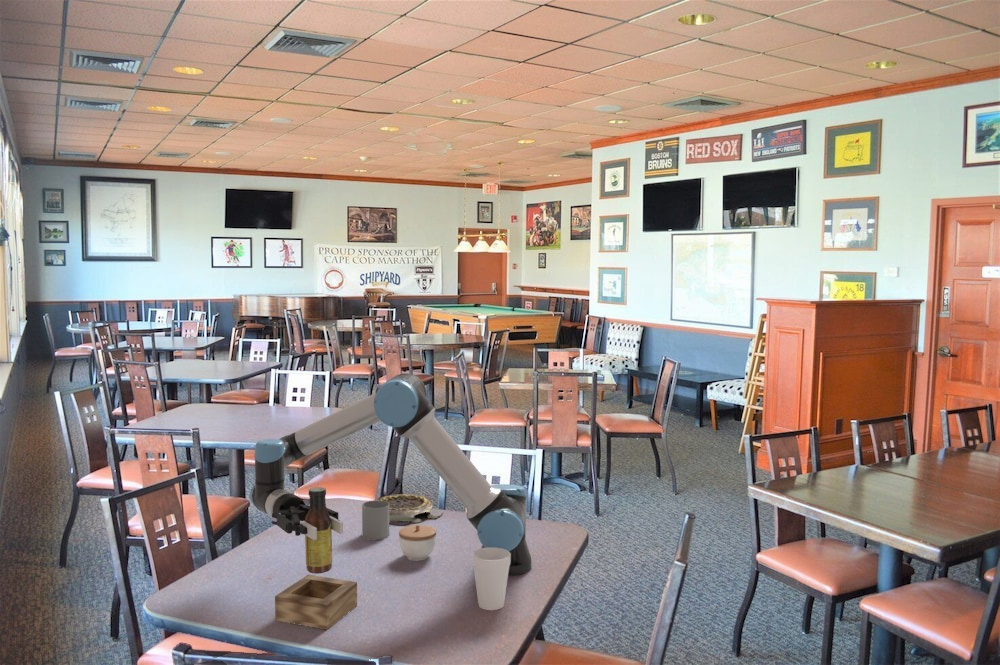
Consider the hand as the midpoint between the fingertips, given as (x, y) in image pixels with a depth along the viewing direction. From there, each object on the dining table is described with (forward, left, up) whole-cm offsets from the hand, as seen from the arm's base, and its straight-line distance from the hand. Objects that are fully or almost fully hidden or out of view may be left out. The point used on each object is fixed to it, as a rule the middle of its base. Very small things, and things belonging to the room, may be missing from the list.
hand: (328, 531), depth 183 cm
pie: (+20, -80, -22) cm, 85 cm away
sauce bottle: (+4, -3, -11) cm, 12 cm away
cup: (+17, -56, -22) cm, 62 cm away
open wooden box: (+4, -2, -21) cm, 22 cm away
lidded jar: (-3, -44, -22) cm, 49 cm away
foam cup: (-34, -21, -22) cm, 45 cm away
